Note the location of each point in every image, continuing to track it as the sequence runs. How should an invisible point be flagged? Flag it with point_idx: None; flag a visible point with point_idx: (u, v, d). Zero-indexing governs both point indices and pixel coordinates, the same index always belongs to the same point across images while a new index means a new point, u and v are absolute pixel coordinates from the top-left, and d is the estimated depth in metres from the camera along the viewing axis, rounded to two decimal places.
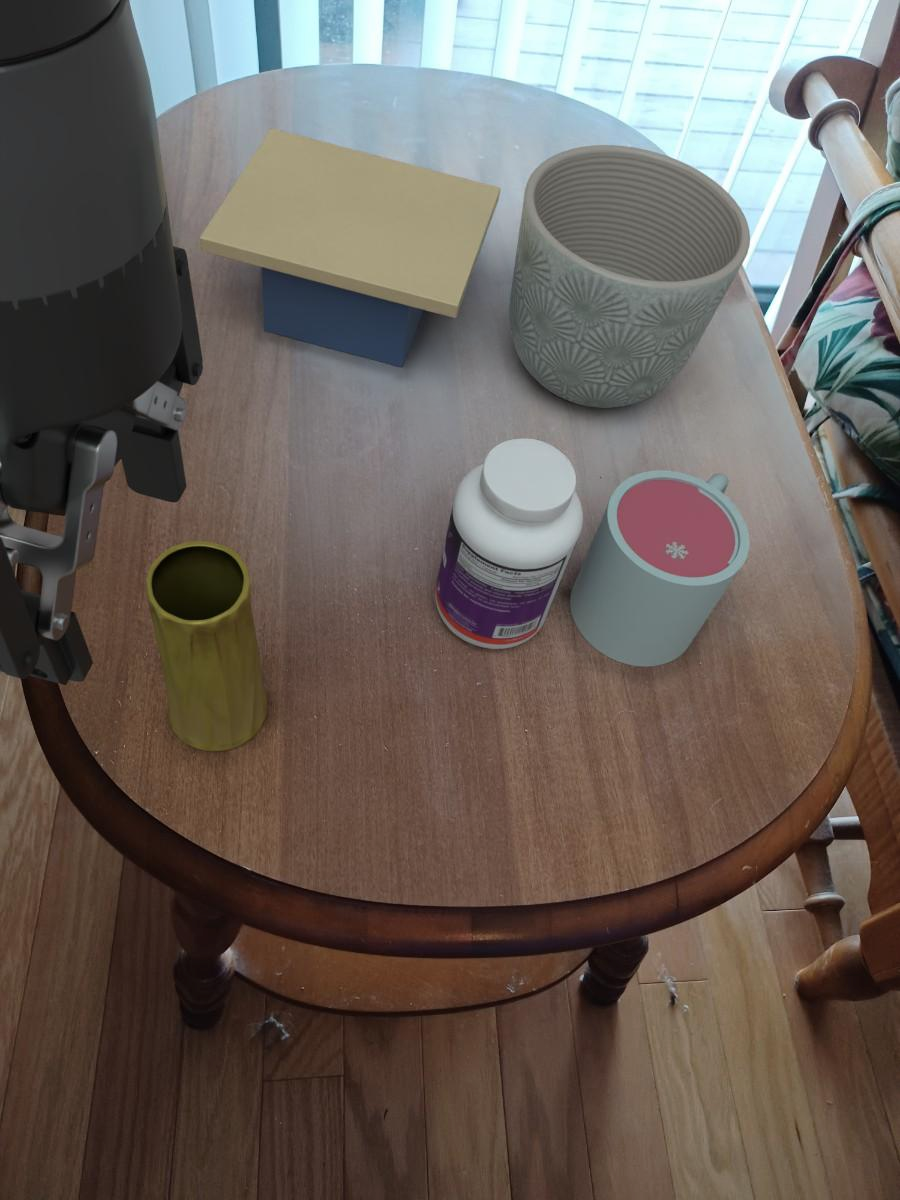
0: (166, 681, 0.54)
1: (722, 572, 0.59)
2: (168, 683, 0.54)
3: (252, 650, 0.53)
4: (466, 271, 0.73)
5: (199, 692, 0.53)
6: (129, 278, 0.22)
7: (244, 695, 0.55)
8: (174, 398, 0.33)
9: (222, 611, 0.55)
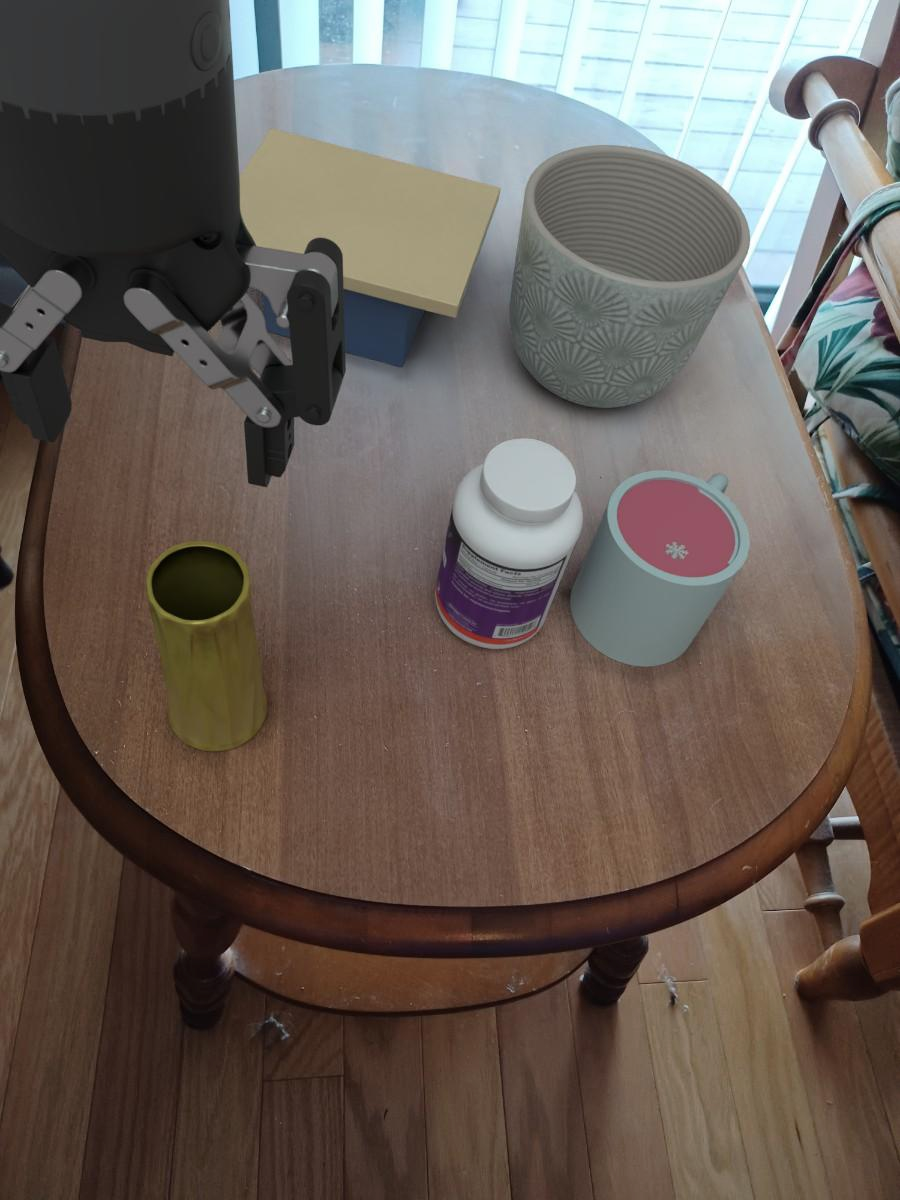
0: (166, 681, 0.54)
1: (722, 572, 0.59)
2: (168, 683, 0.54)
3: (252, 650, 0.53)
4: (466, 271, 0.73)
5: (199, 692, 0.53)
6: None
7: (244, 695, 0.55)
8: (224, 375, 0.32)
9: (222, 611, 0.55)
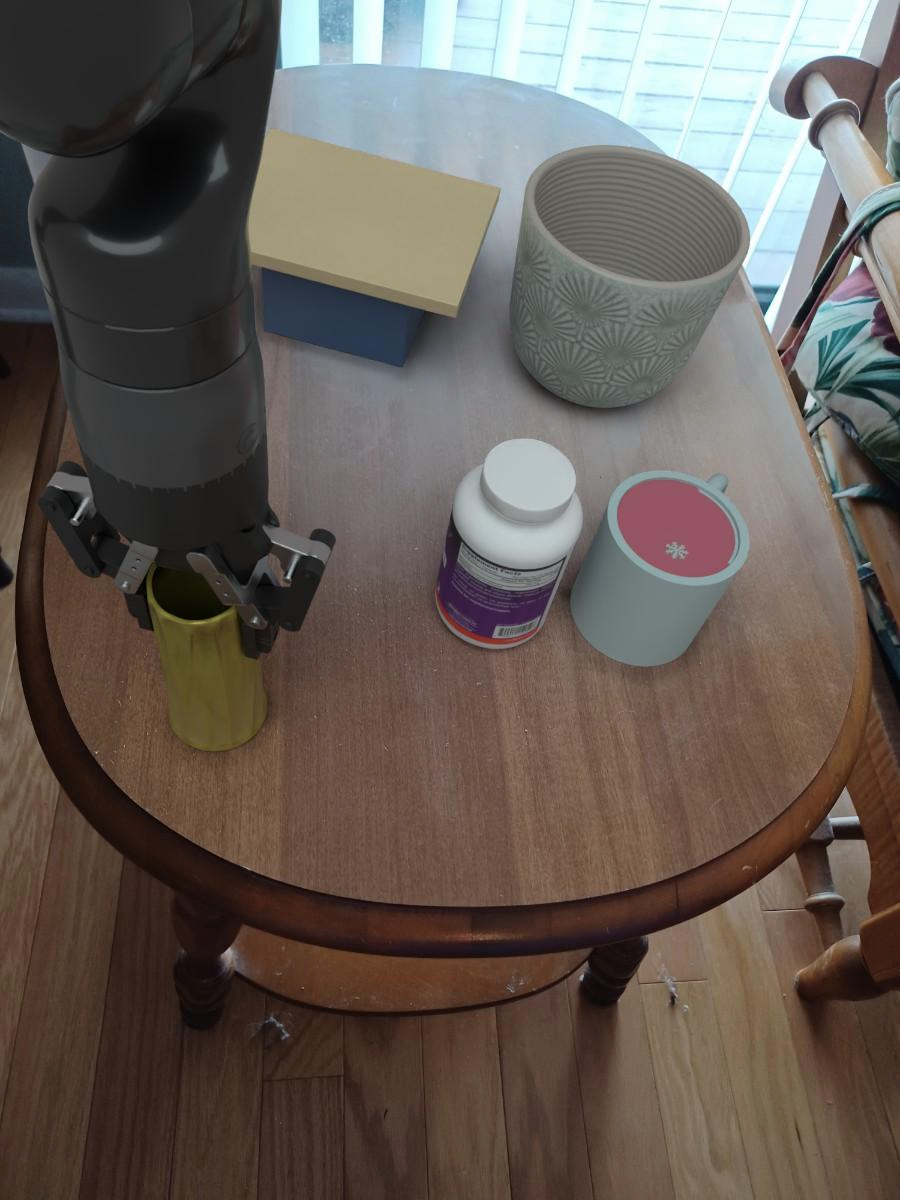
0: (166, 681, 0.54)
1: (722, 572, 0.59)
2: (168, 683, 0.54)
3: None
4: (466, 271, 0.73)
5: (199, 692, 0.53)
6: (109, 479, 0.37)
7: (244, 695, 0.55)
8: (238, 602, 0.46)
9: (222, 611, 0.55)
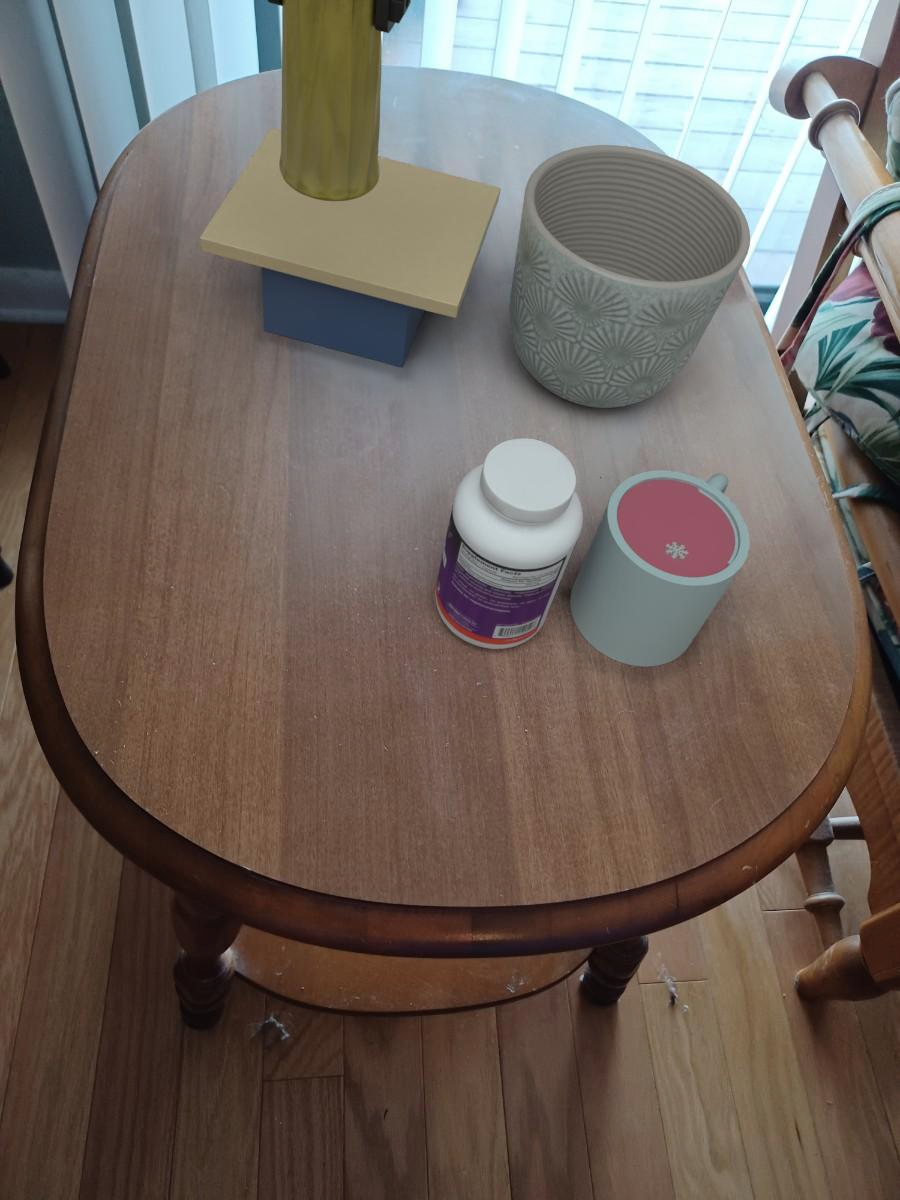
0: (288, 84, 0.53)
1: (722, 572, 0.59)
2: (290, 86, 0.53)
3: (379, 37, 0.51)
4: (466, 271, 0.73)
5: (325, 80, 0.51)
6: None
7: (366, 111, 0.54)
8: None
9: None
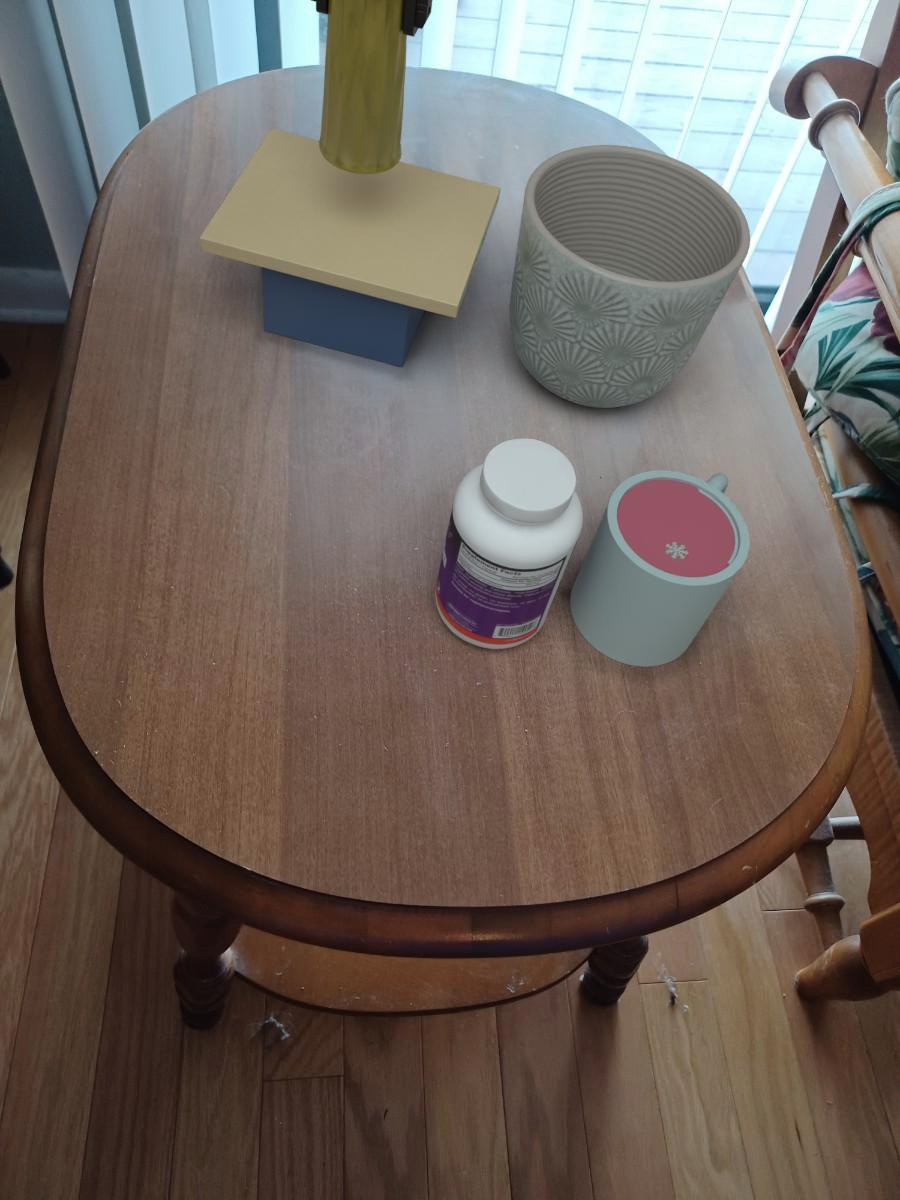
0: (330, 77, 0.65)
1: (722, 572, 0.59)
2: (332, 79, 0.65)
3: (405, 39, 0.64)
4: (466, 271, 0.73)
5: (361, 73, 0.63)
6: None
7: (393, 99, 0.66)
8: None
9: None
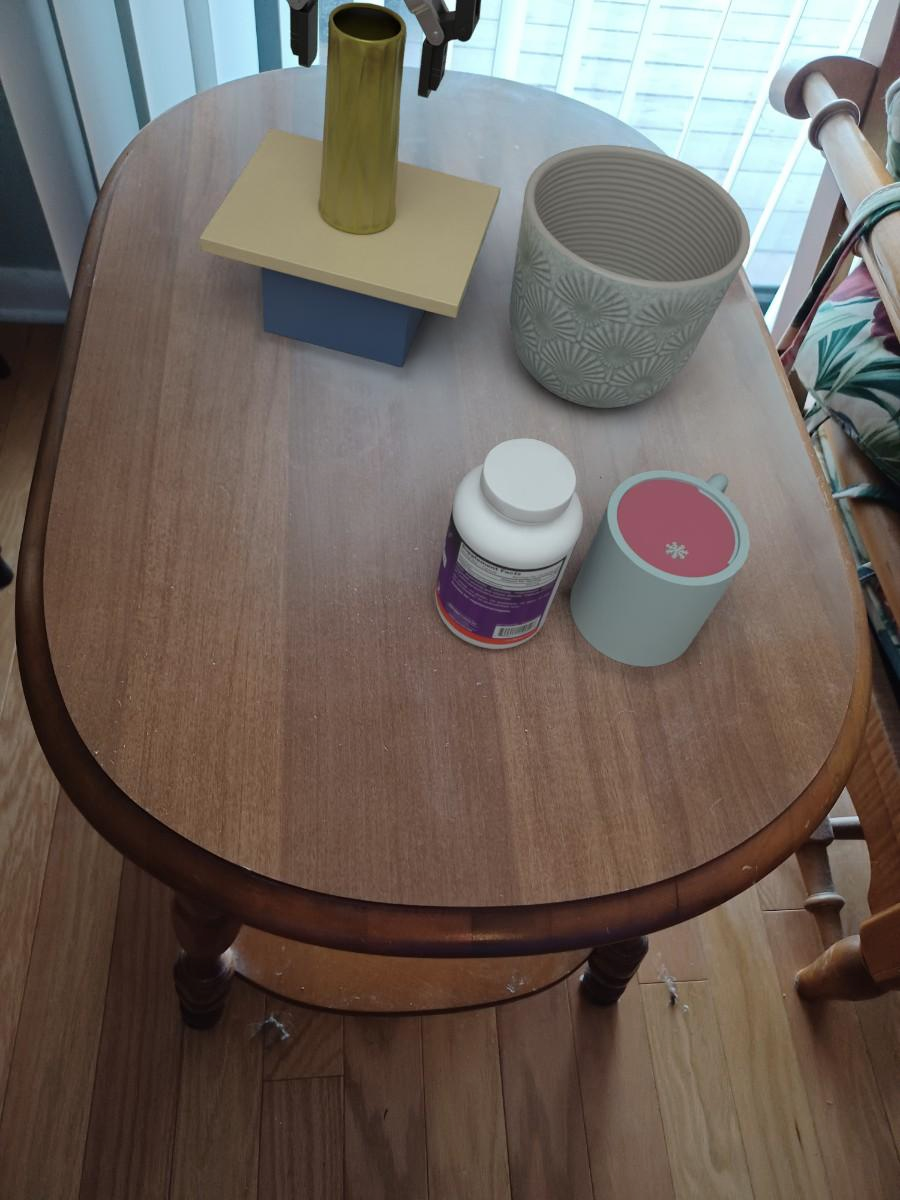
0: (328, 147, 0.69)
1: (722, 572, 0.59)
2: (330, 148, 0.69)
3: (398, 112, 0.68)
4: (466, 271, 0.73)
5: (357, 145, 0.68)
6: None
7: (387, 166, 0.70)
8: (419, 1, 0.60)
9: None
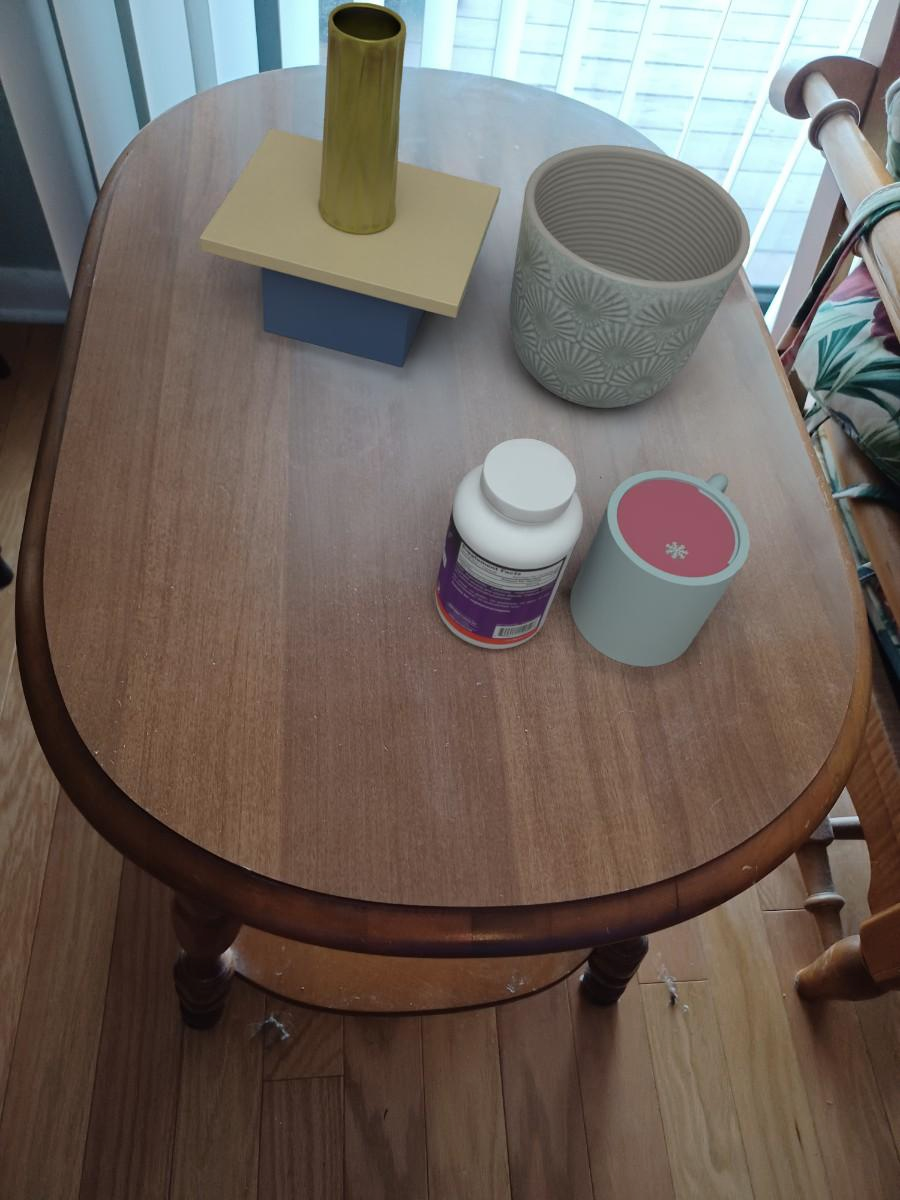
0: (328, 147, 0.69)
1: (722, 572, 0.59)
2: (330, 148, 0.69)
3: (398, 112, 0.68)
4: (466, 271, 0.73)
5: (357, 144, 0.68)
6: None
7: (387, 166, 0.70)
8: None
9: None
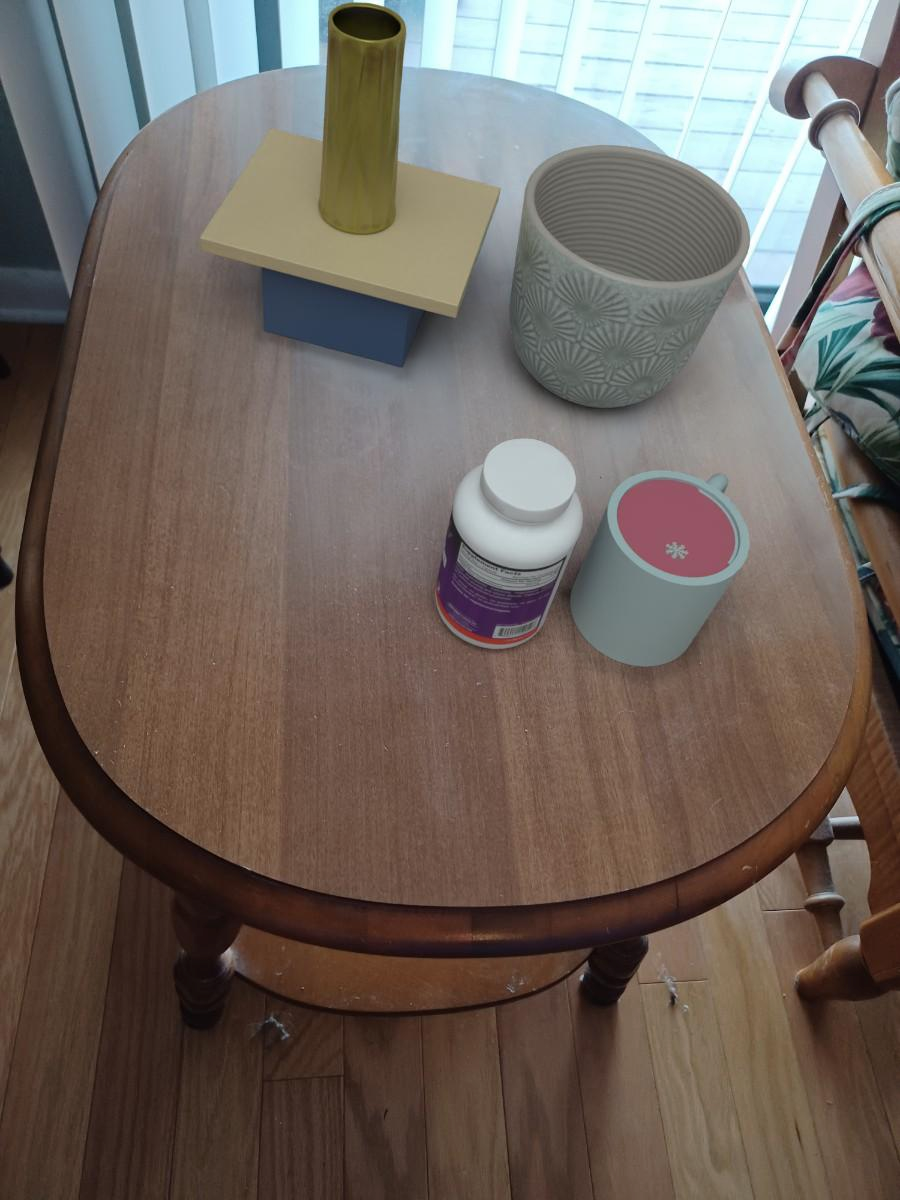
0: (328, 147, 0.69)
1: (722, 572, 0.59)
2: (330, 148, 0.69)
3: (398, 112, 0.68)
4: (466, 271, 0.73)
5: (357, 144, 0.68)
6: None
7: (387, 166, 0.70)
8: None
9: None
